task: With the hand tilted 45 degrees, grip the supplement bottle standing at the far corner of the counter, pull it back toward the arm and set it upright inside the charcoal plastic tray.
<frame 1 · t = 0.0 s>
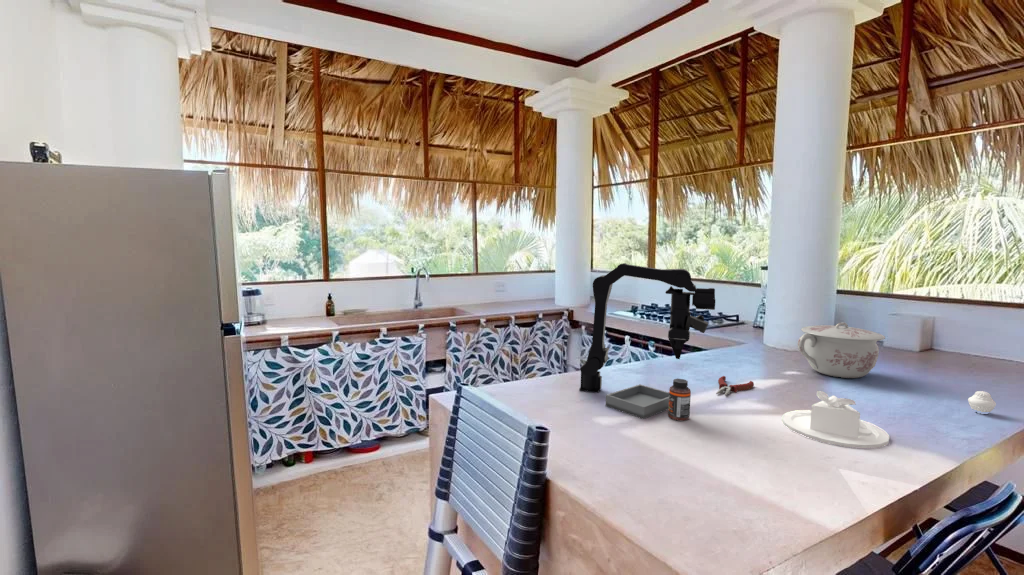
hand: (678, 355, 155), 15 cm above the countertop, tool pointing down, fingers open, 9 cm apart
dish: (832, 431, 133), on the countertop
tray: (641, 405, 150), on the countertop
chamber pot: (837, 374, 190), on the countertop
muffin: (980, 413, 147), on the countertop
supplement bottle: (678, 418, 141), on the countertop
pliers: (726, 389, 170), on the countertop
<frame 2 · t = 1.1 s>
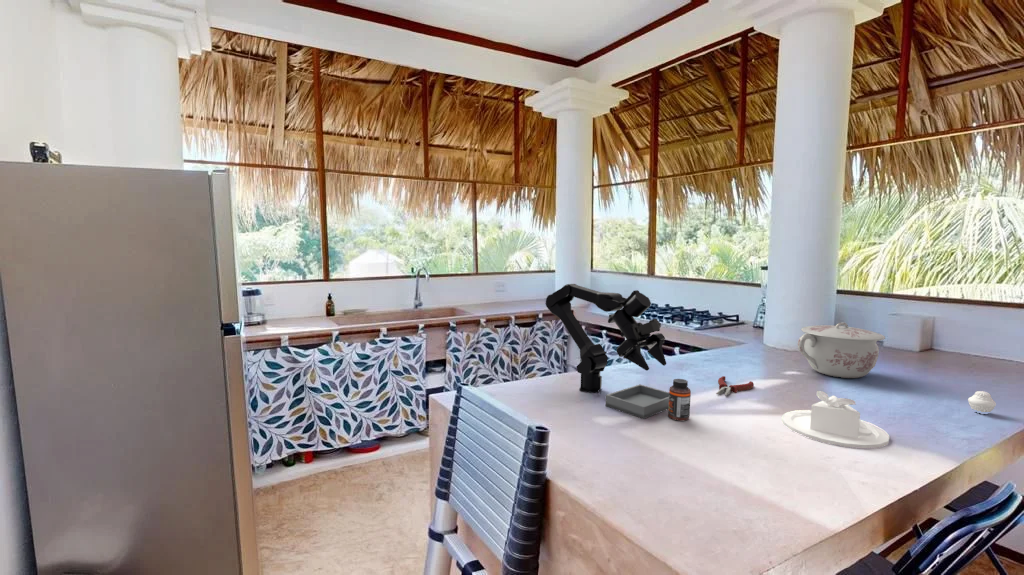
hand: (656, 367, 145), 13 cm above the countertop, tool tilted 45°, fingers open, 9 cm apart
nothing on the countertop moved.
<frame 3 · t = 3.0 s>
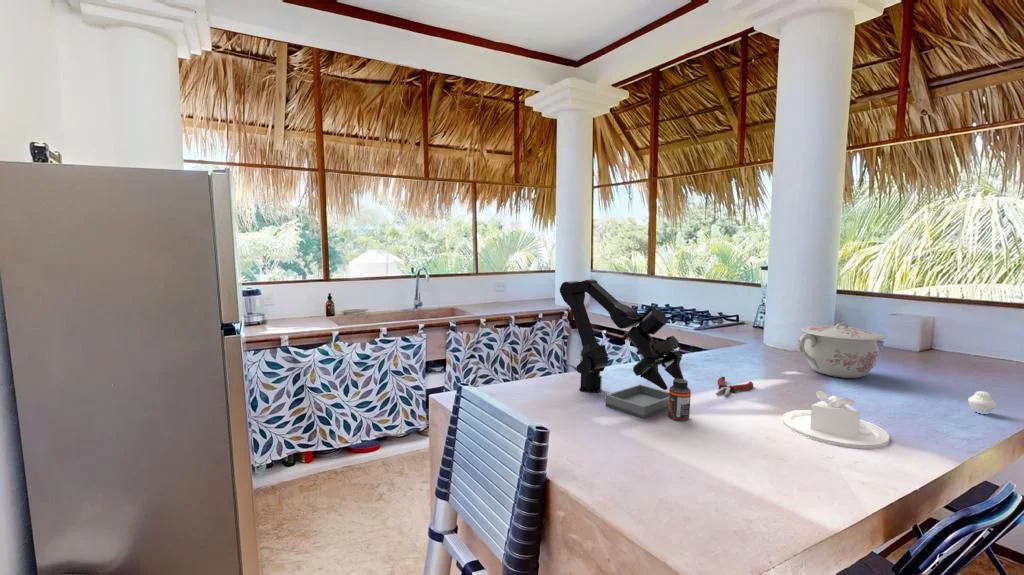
hand: (675, 386, 141), 9 cm above the countertop, tool tilted 45°, fingers open, 9 cm apart
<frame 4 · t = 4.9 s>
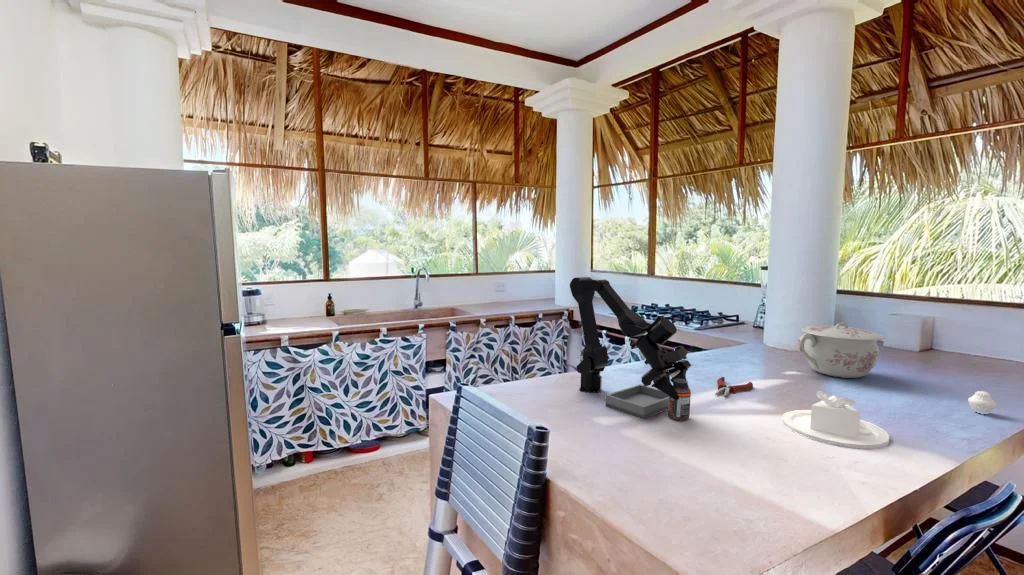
hand: (683, 397, 139), 7 cm above the countertop, tool tilted 45°, fingers closed on supplement bottle, 6 cm apart
supplement bottle: (678, 418, 141), on the countertop, touching gripper
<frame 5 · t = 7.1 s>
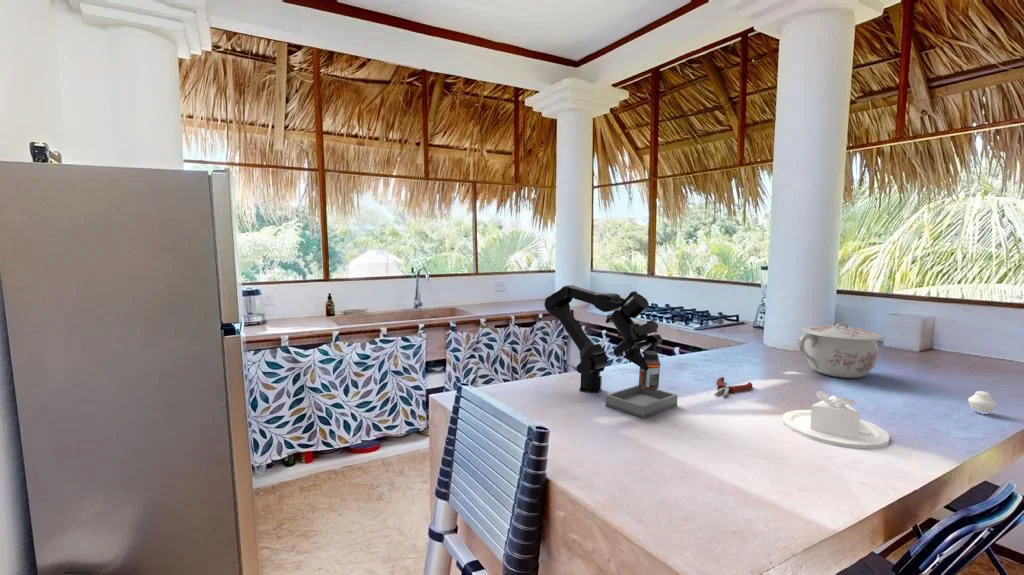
hand: (653, 368, 146), 13 cm above the countertop, tool tilted 45°, fingers closed on supplement bottle, 6 cm apart
supplement bottle: (648, 388, 148), point 6 cm above the countertop, touching gripper
when the fingers open (9 cm above the countertop, at t = 9.3 s): supplement bottle drops 1 cm, resting on tray.
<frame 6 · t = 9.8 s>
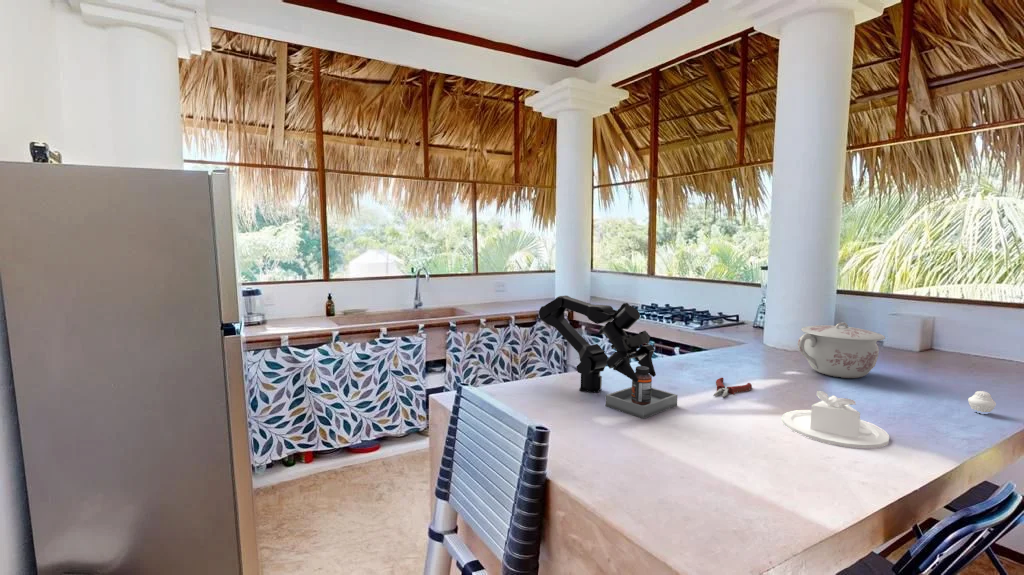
hand: (646, 378, 148), 9 cm above the countertop, tool tilted 45°, fingers open, 9 cm apart
supplement bottle: (640, 403, 150), point 1 cm above the countertop, touching tray
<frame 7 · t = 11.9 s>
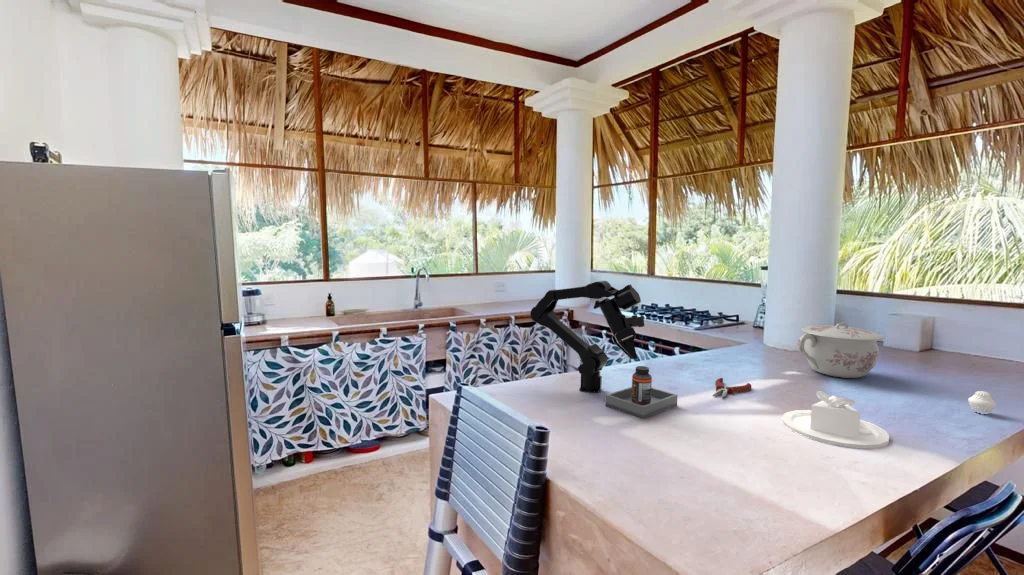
hand: (634, 358, 157), 13 cm above the countertop, tool tilted 30°, fingers open, 9 cm apart
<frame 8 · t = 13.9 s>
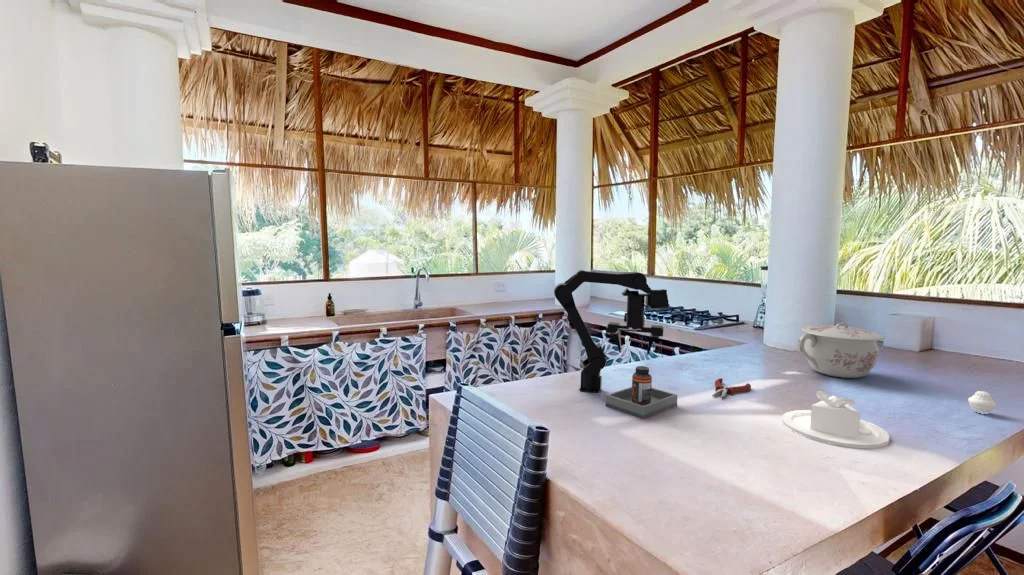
hand: (633, 353, 164), 13 cm above the countertop, tool pointing down, fingers open, 9 cm apart
at the end: supplement bottle inside the target area on the tray (0.1 cm from its centre), point 0.8 cm above the tray's base; supplement bottle tilted 0°; the gripper is holding nothing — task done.
